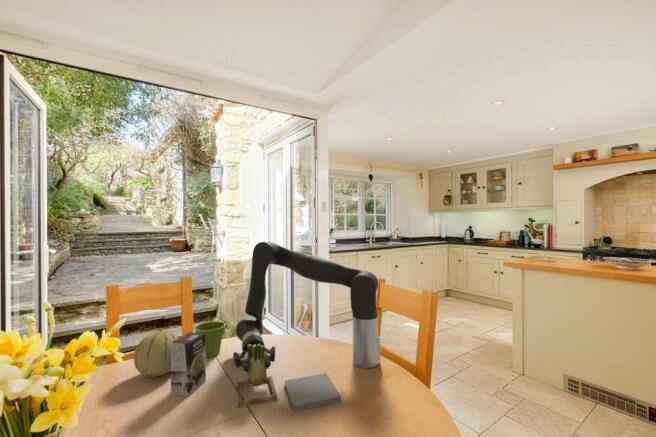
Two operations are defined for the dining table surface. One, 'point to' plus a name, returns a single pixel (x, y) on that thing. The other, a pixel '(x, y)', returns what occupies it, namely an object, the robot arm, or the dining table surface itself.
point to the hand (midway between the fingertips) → (257, 367)
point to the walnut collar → (259, 399)
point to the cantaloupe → (154, 354)
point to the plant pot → (211, 336)
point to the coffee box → (188, 363)
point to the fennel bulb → (256, 364)
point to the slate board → (311, 391)
